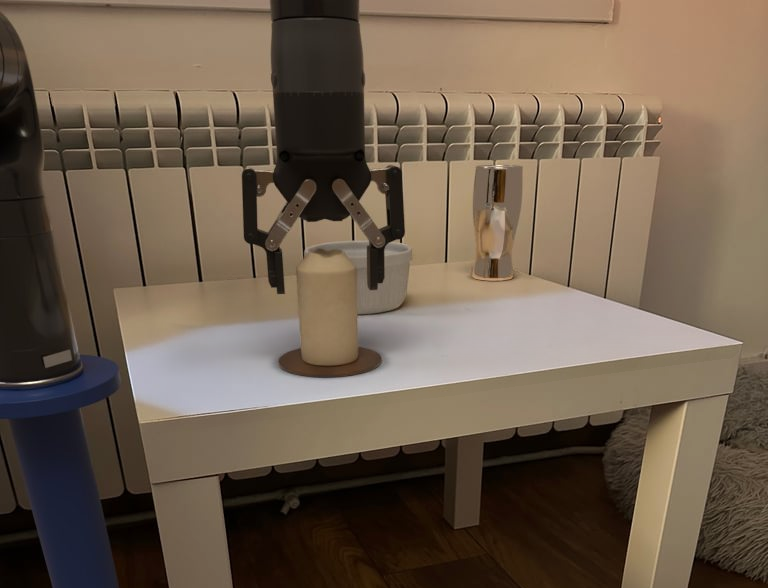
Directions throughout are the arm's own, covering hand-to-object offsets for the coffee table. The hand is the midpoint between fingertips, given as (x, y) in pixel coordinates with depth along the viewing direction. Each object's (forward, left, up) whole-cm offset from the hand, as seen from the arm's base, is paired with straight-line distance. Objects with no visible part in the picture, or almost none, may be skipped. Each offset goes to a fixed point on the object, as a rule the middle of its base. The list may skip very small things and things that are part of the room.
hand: (326, 290), depth 67 cm
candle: (0, 0, -7) cm, 7 cm away
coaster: (0, 0, -7) cm, 7 cm away
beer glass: (+28, +39, -7) cm, 49 cm away
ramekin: (+6, +24, -7) cm, 26 cm away
